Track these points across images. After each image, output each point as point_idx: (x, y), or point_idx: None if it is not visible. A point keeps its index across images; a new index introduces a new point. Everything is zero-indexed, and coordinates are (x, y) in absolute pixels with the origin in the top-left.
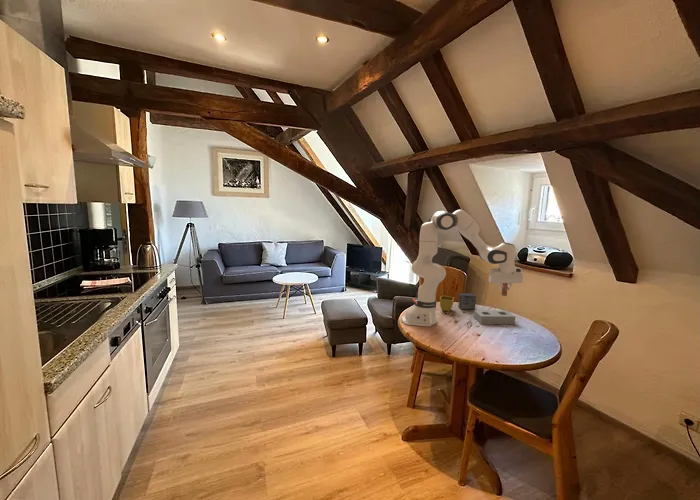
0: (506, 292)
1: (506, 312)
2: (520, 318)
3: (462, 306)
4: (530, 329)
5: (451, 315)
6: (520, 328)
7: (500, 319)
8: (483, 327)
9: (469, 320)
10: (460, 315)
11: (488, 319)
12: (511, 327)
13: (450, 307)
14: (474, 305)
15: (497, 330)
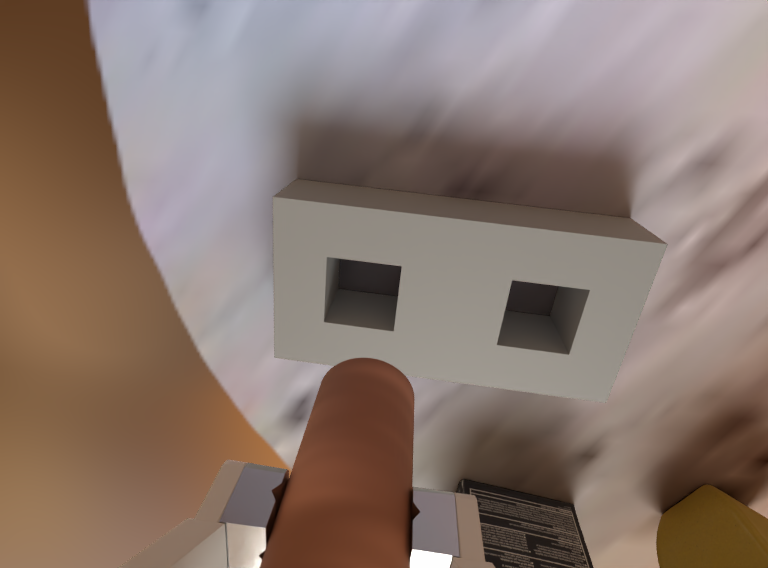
0: (338, 407)
1: (306, 311)
2: (180, 288)
3: (565, 524)
4: (211, 30)
5: (751, 418)
6: (299, 66)
7: (437, 207)
8: (669, 128)
9: (674, 303)
10: (669, 407)
11: (566, 222)
12: (376, 100)
13: (740, 507)
14: None
15: (577, 34)
